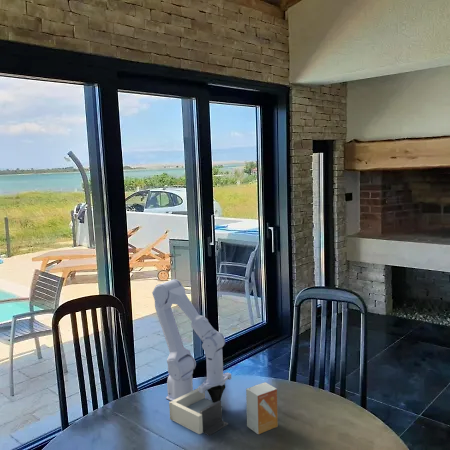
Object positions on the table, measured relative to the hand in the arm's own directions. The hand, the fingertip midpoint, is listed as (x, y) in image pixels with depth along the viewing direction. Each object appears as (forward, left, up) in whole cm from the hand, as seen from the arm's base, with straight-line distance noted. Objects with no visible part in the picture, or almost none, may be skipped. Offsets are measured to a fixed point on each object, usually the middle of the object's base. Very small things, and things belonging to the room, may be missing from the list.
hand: (216, 404), depth 163 cm
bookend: (+8, -9, -1) cm, 13 cm away
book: (-1, -7, -2) cm, 7 cm away
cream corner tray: (0, -7, -1) cm, 7 cm away
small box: (+20, +1, -1) cm, 20 cm away
